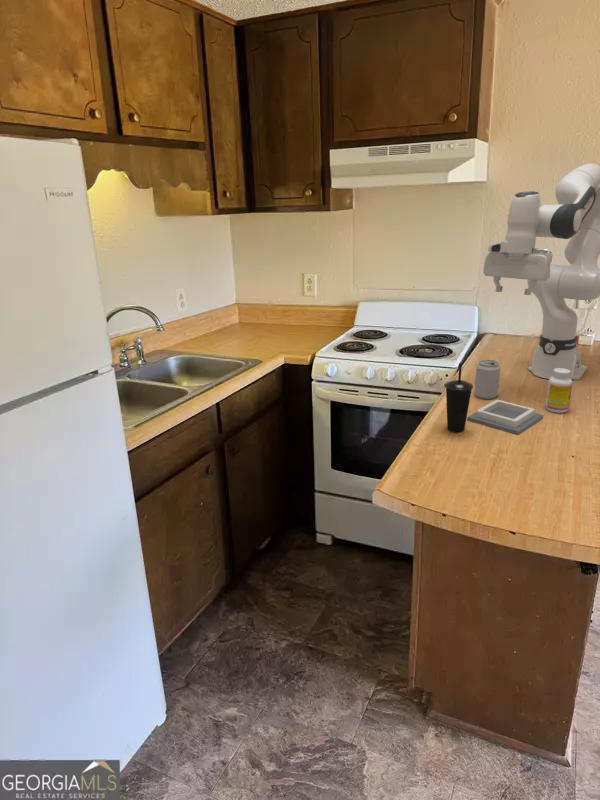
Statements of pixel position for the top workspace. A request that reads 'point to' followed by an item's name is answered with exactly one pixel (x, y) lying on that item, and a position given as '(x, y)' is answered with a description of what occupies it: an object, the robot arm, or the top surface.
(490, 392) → the can
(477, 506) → the top surface
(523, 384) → the top surface
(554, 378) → the supplement bottle
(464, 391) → the drinking cup
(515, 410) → the grey flat square tray
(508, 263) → the robot arm
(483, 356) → the top surface
